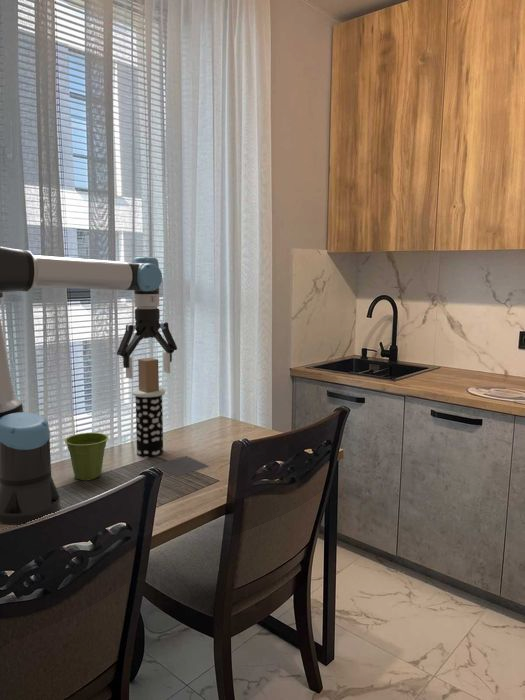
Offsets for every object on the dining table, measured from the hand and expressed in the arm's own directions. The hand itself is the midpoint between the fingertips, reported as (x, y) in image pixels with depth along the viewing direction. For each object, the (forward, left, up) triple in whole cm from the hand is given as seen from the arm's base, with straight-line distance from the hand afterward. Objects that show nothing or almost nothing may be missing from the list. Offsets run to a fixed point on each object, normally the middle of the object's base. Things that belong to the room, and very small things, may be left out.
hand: (148, 375), depth 168 cm
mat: (+1, -16, -26) cm, 30 cm away
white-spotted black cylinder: (0, 0, -26) cm, 26 cm away
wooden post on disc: (0, 0, -6) cm, 6 cm away
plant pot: (-23, -4, -26) cm, 35 cm away
